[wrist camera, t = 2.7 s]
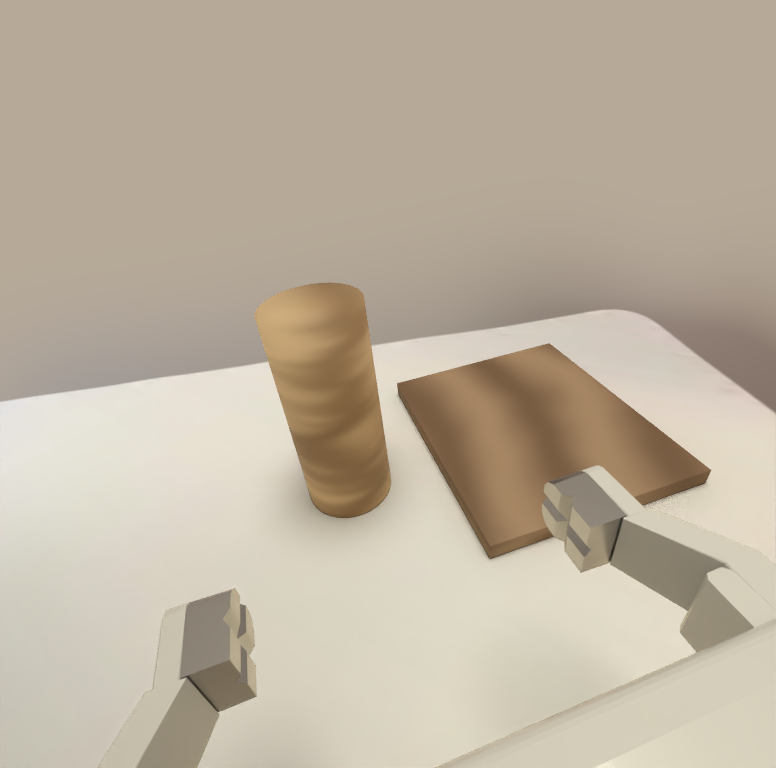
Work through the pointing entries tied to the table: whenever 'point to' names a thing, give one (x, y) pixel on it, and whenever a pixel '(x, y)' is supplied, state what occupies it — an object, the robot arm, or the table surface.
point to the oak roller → (329, 393)
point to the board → (536, 440)
